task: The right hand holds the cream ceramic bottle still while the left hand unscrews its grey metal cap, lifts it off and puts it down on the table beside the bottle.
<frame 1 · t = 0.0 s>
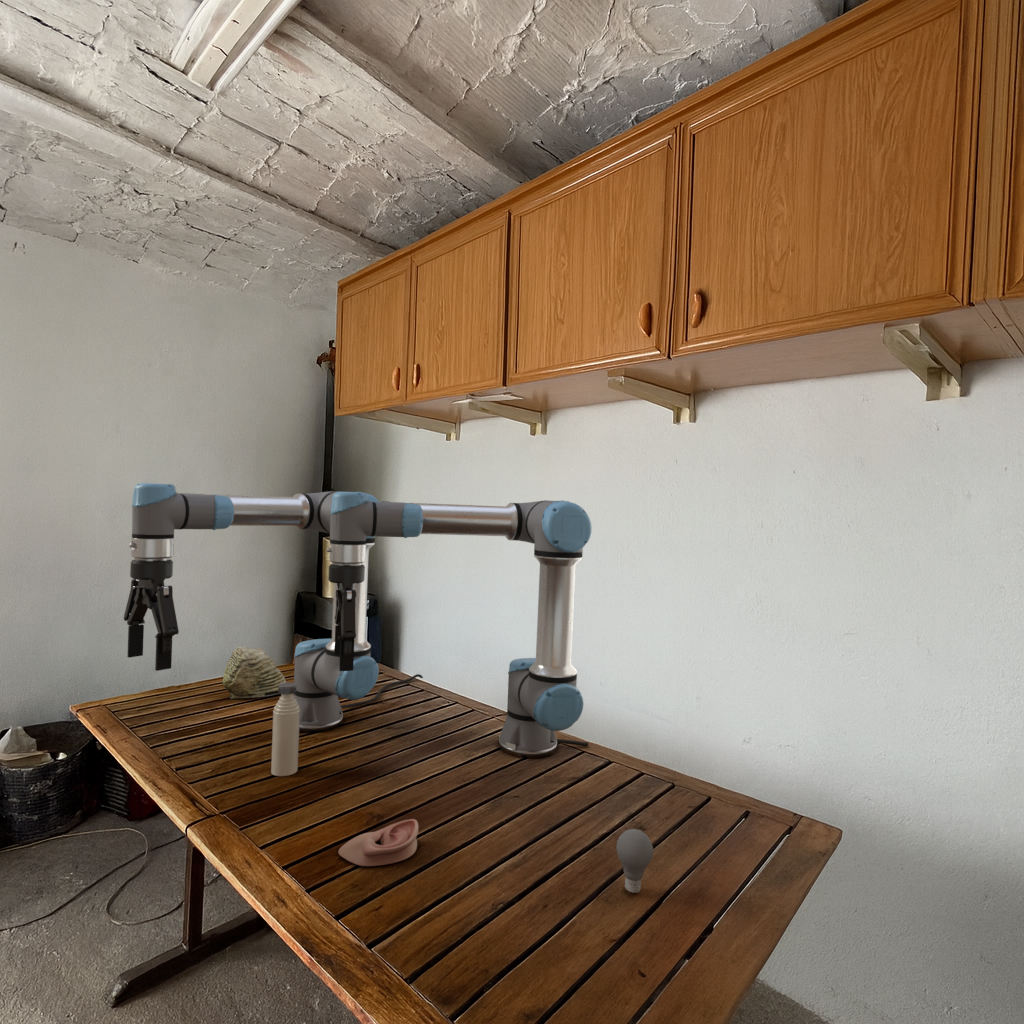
left hand: (148, 662, 129), 28 cm above the table, tool pointing down, fingers open, 13 cm apart
right hand: (343, 662, 136), 28 cm above the table, tool pointing down, fingers open, 13 cm apart
bottle: (284, 770, 145), on the table
cap: (287, 685, 145), point 20 cm above the table, screwed on, not yet turned
fossil: (254, 694, 198), on the table
anatomical model: (378, 850, 115), on the table
light bulb: (632, 891, 106), on the table
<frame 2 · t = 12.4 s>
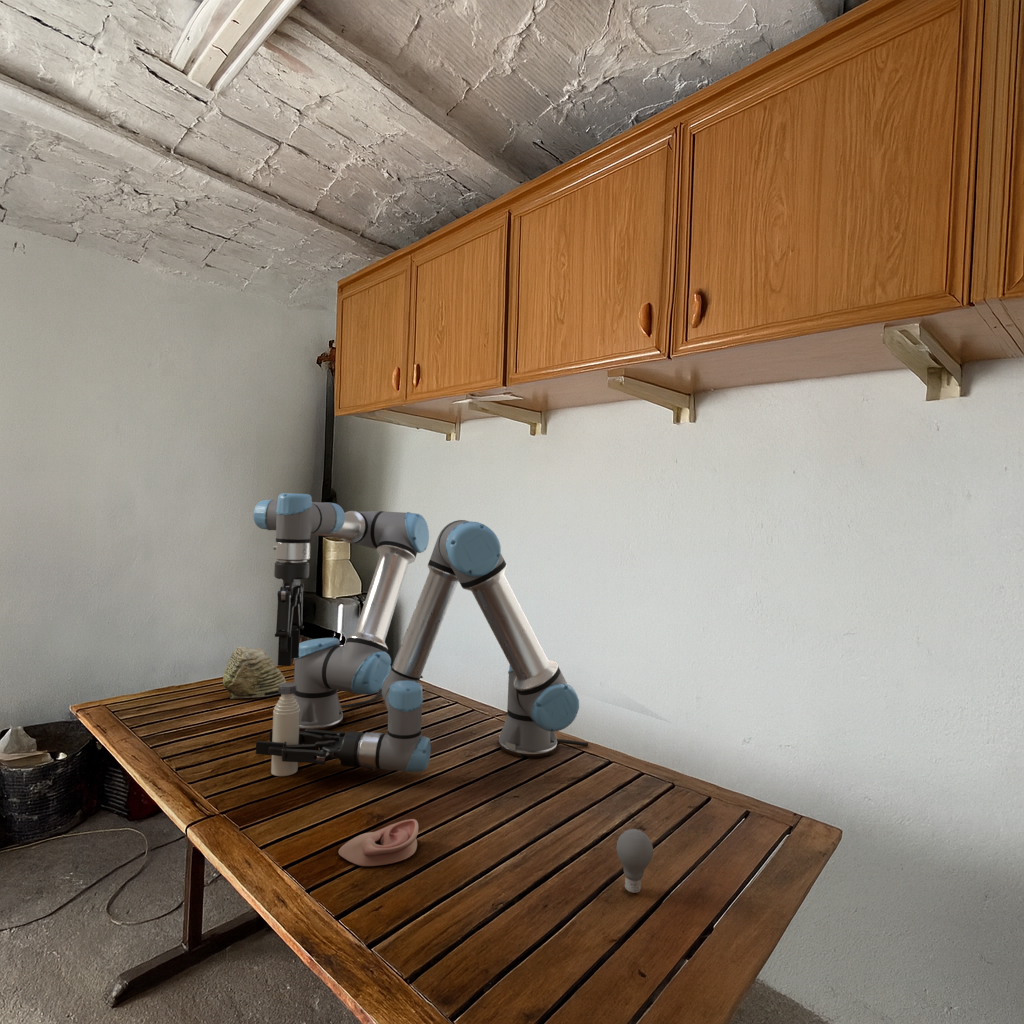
left hand: (288, 661, 145), 25 cm above the table, tool pointing down, fingers open, 6 cm apart
right hand: (263, 741, 146), 6 cm above the table, tool horizontal, fingers closed on bottle, 6 cm apart
bottle: (284, 770, 145), on the table, touching right hand
everything else where it was.
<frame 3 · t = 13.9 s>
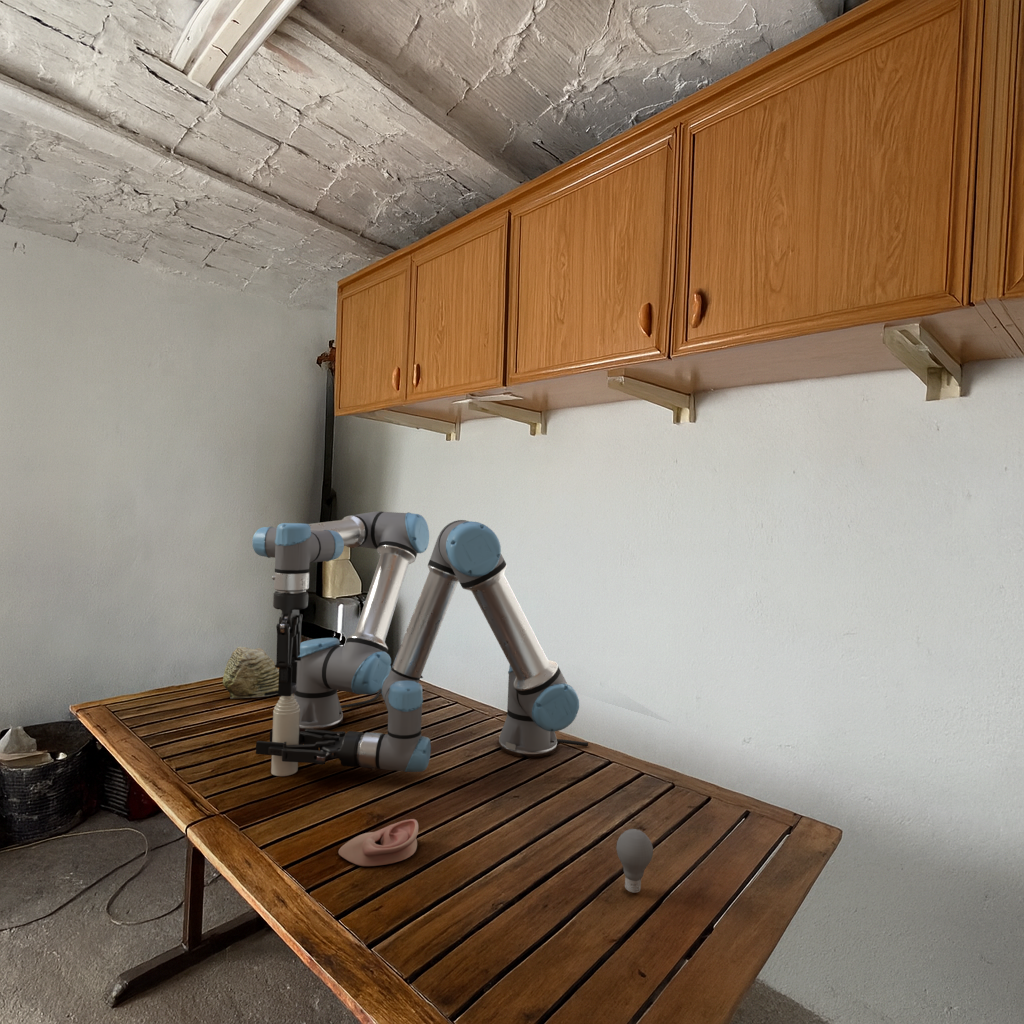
left hand: (287, 692, 145), 18 cm above the table, tool pointing down, fingers closed on cap, 4 cm apart
right hand: (264, 741, 146), 6 cm above the table, tool horizontal, fingers closed on bottle, 6 cm apart
bottle: (284, 770, 145), on the table, touching right hand
cap: (287, 685, 145), point 20 cm above the table, screwed on, not yet turned, touching left hand
everything else where it was.
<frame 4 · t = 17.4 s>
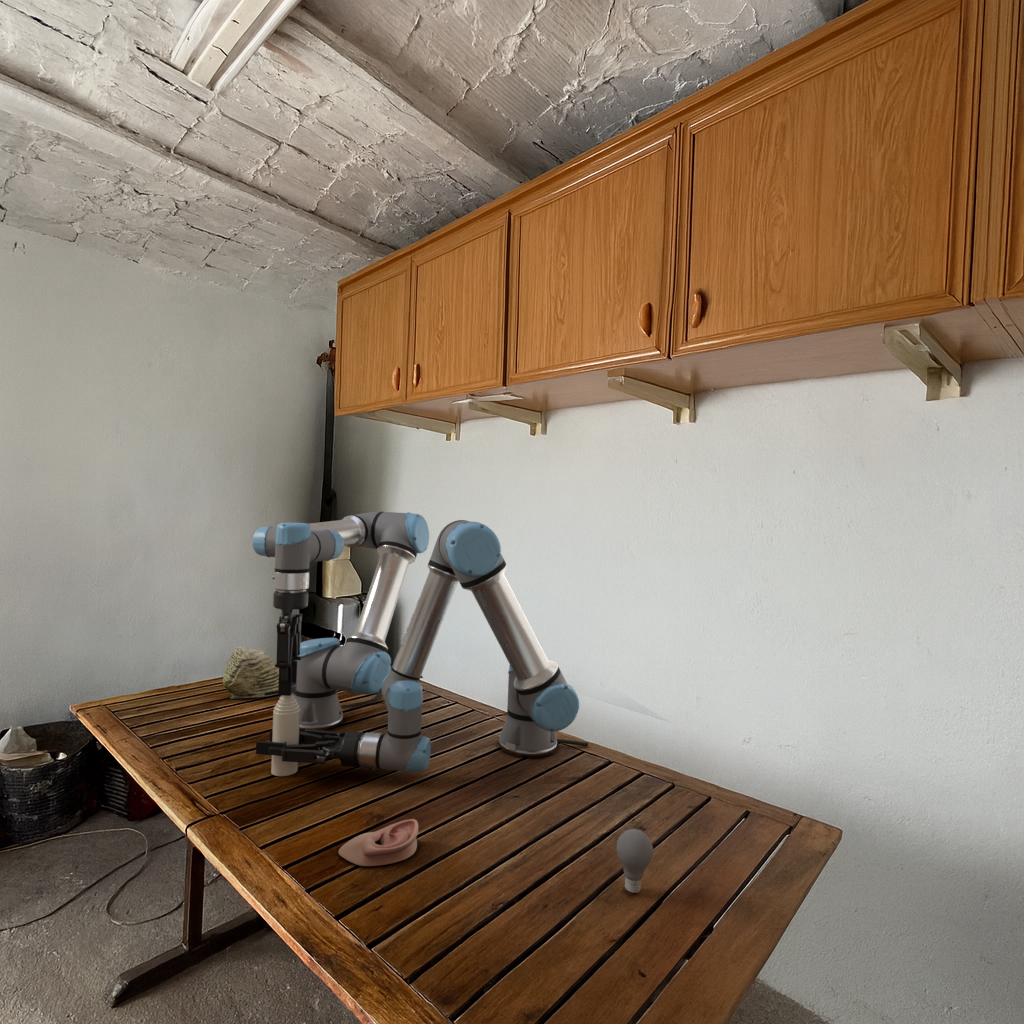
left hand: (287, 691, 145), 18 cm above the table, tool pointing down, fingers closed on cap, 4 cm apart
right hand: (264, 741, 146), 6 cm above the table, tool horizontal, fingers closed on bottle, 6 cm apart
bottle: (284, 770, 145), on the table, touching right hand
cap: (287, 685, 145), point 20 cm above the table, turned 109° so far, risen 0.1 cm, still on its thread, touching left hand
everything else where it was.
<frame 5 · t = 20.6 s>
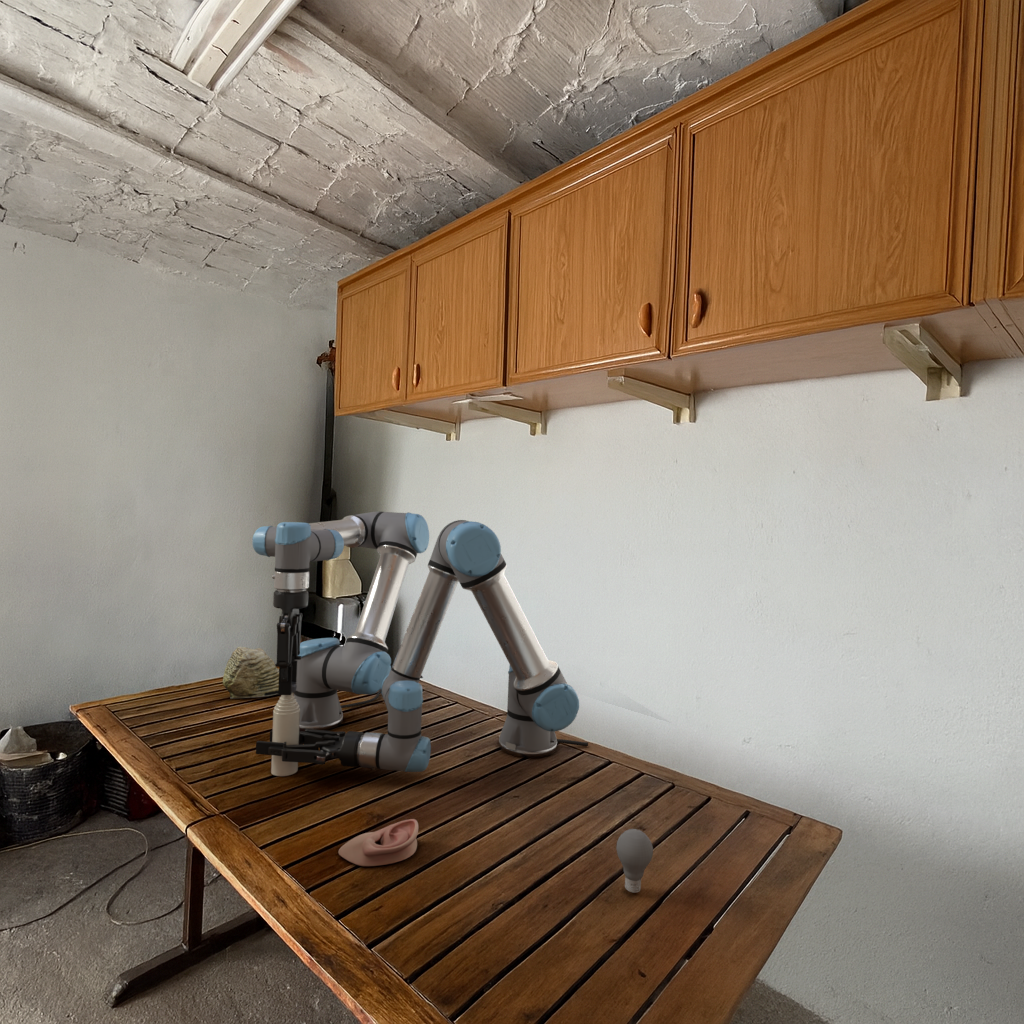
left hand: (287, 691, 145), 18 cm above the table, tool pointing down, fingers closed on cap, 4 cm apart
right hand: (264, 741, 146), 6 cm above the table, tool horizontal, fingers closed on bottle, 6 cm apart
bottle: (284, 770, 145), on the table, touching right hand
cap: (287, 684, 145), point 20 cm above the table, turned 218° so far, risen 0.2 cm, still on its thread, touching left hand
everything else where it was.
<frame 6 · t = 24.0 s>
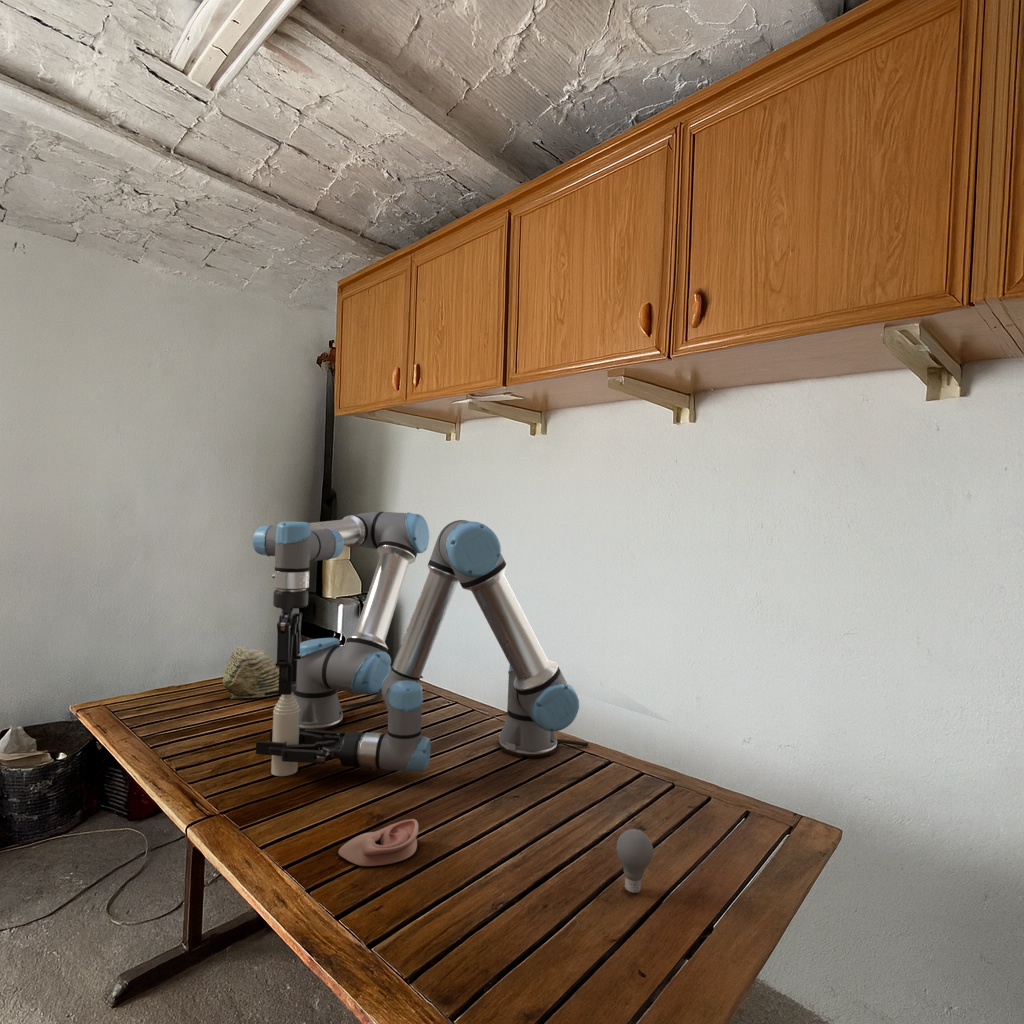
left hand: (287, 690, 145), 18 cm above the table, tool pointing down, fingers closed on cap, 4 cm apart
right hand: (264, 741, 146), 6 cm above the table, tool horizontal, fingers closed on bottle, 6 cm apart
bottle: (284, 770, 145), on the table, touching right hand
cap: (287, 684, 145), point 20 cm above the table, turned 327° so far, risen 0.3 cm, still on its thread, touching left hand
everything else where it was.
when the left hand's fingers open (1 cm above the table, at t = 30.6 s): cap stays where it is, point 1 cm above the table.
when the right hand's fingers open (6 cm above the table, at t = 31.8 s): bottle stays where it is, on the table.
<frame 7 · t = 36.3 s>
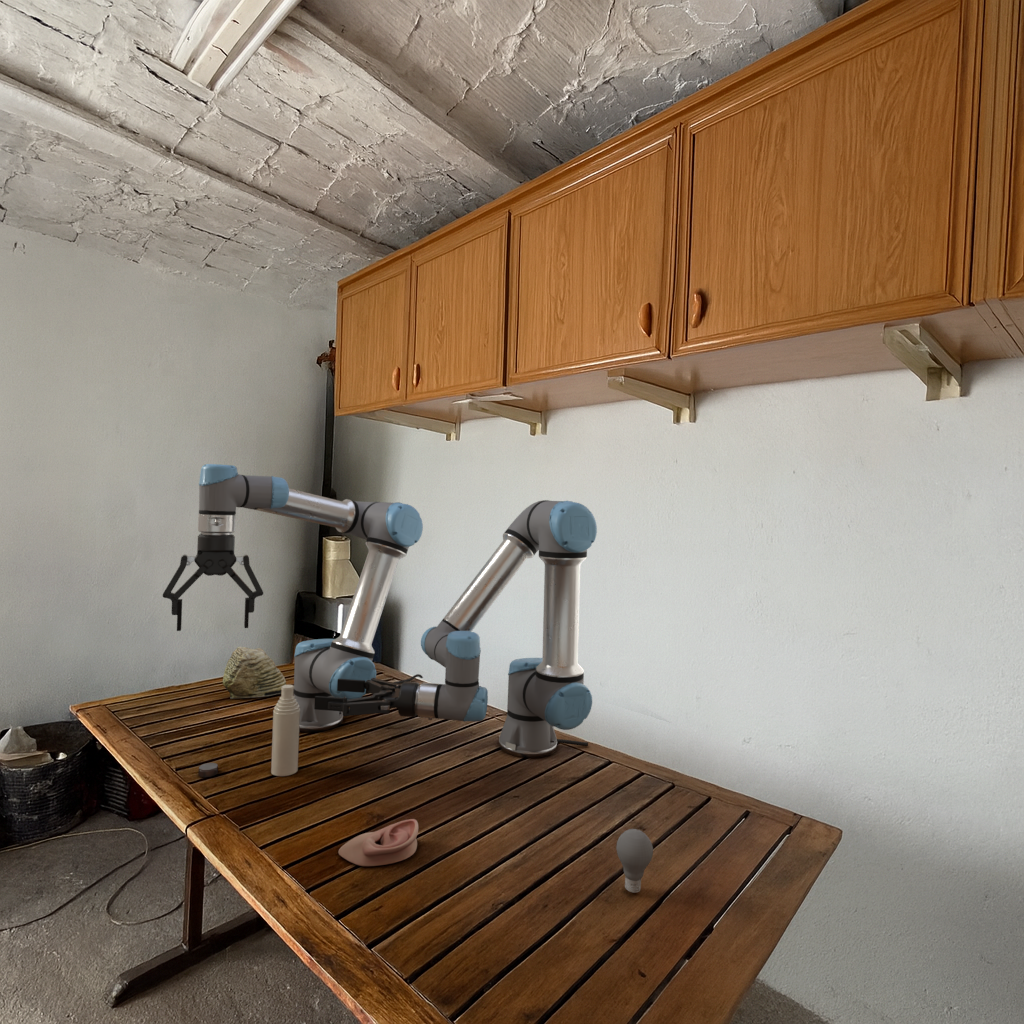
left hand: (213, 628, 142), 33 cm above the table, tool pointing down, fingers open, 13 cm apart
right hand: (326, 693, 144), 19 cm above the table, tool horizontal, fingers open, 13 cm apart
bottle: (284, 770, 145), on the table
cap: (208, 767, 142), point 1 cm above the table, off its thread
everything else where it was.
at the end: cap came off its thread; cap point 1.4 cm above the table; the left hand is holding nothing; the right hand is holding nothing; bottle tilted 0°; bottle moved 0.0 cm from its start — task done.
